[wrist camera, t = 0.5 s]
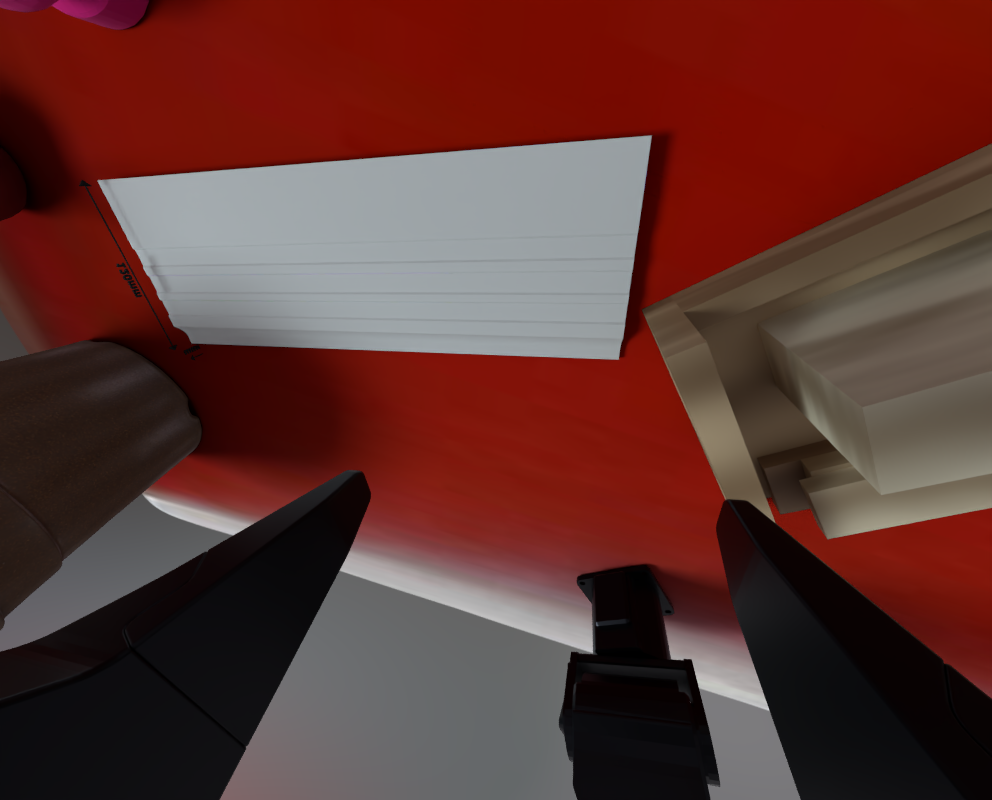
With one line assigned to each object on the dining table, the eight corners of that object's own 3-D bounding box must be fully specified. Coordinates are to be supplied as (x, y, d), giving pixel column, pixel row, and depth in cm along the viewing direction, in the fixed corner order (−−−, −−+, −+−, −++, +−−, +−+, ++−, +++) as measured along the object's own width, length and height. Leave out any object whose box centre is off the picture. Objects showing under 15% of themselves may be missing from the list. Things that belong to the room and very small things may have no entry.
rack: (1176, 395, 16) (1471, 499, 11) (724, 497, 24) (764, 586, 19) (1243, 23, 11) (1866, -128, 6) (641, 309, 19) (665, 358, 14)
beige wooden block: (1053, 295, 15) (1439, 385, 8) (776, 386, 19) (881, 495, 12) (1056, 203, 13) (1522, 220, 7) (756, 323, 18) (861, 407, 11)
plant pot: (242, 396, 29) (-49, 577, 16) (213, 493, 38) (9, 665, 24) (45, 271, 27) (-501, 360, 13) (62, 406, 35) (-260, 543, 22)
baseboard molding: (614, 374, 22) (646, 139, 16) (618, 397, 20) (657, 130, 14) (210, 355, 28) (124, 180, 22) (176, 371, 26) (68, 179, 20)
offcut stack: (1112, 434, 17) (1203, 477, 15) (774, 504, 23) (797, 543, 20) (1119, 362, 16) (1222, 396, 13) (756, 457, 22) (779, 493, 19)
